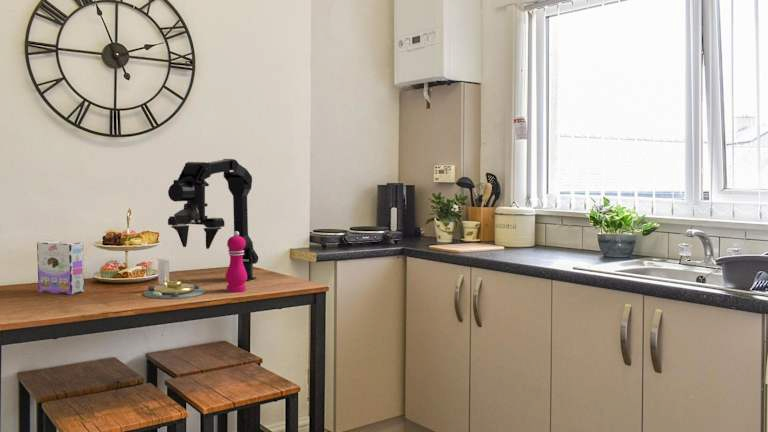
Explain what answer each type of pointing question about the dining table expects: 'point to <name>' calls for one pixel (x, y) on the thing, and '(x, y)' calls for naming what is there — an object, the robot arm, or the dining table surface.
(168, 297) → the tribrach plate
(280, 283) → the dining table surface
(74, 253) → the candy box
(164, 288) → the footscrew wheel
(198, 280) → the dining table surface
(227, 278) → the pepper mill
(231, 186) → the robot arm
